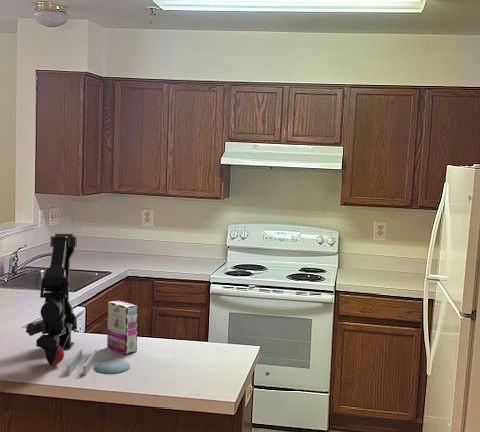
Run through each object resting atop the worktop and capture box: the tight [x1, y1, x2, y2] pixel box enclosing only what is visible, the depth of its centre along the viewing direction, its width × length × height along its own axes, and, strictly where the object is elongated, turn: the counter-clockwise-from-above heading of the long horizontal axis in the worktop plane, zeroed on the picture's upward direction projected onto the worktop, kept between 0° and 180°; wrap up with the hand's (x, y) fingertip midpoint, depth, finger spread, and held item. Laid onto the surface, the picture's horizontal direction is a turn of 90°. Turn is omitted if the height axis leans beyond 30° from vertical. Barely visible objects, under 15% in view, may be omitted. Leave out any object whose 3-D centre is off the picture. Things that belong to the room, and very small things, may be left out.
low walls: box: [66, 349, 98, 376], centre depth 210 cm, size 16×6×3 cm, turn 0°
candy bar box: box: [106, 299, 139, 355], centre depth 228 cm, size 11×5×16 cm, turn 47°
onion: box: [44, 346, 65, 367], centre depth 210 cm, size 6×6×8 cm
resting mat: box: [94, 360, 131, 375], centre depth 210 cm, size 11×11×1 cm
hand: (54, 360), depth 210 cm, fingers open, 8 cm apart
